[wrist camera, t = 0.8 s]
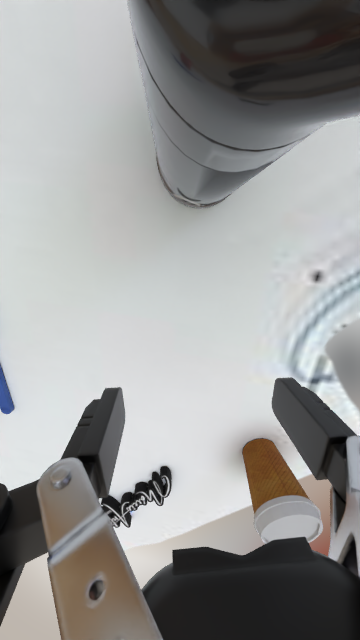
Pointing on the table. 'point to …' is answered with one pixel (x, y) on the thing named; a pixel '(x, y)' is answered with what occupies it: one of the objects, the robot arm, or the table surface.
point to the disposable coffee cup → (278, 496)
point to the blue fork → (5, 395)
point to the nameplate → (138, 498)
